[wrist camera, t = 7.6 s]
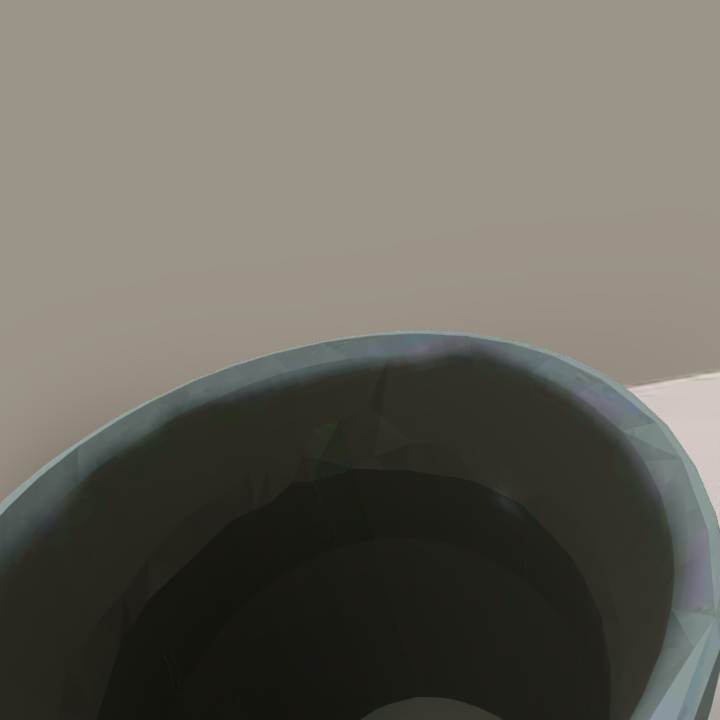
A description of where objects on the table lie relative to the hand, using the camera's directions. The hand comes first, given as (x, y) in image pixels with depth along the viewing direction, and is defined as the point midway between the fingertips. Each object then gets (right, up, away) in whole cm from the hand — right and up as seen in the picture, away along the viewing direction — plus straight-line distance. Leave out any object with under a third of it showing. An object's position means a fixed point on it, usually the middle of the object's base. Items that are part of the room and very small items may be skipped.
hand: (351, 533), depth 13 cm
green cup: (+2, -8, -1) cm, 8 cm away
